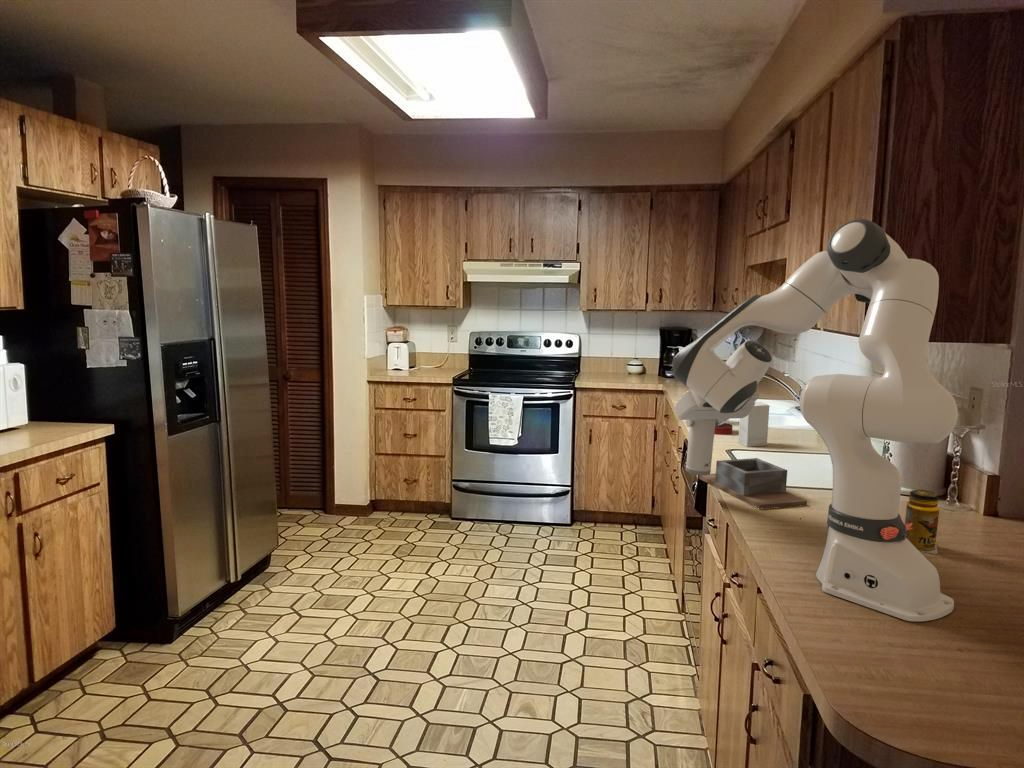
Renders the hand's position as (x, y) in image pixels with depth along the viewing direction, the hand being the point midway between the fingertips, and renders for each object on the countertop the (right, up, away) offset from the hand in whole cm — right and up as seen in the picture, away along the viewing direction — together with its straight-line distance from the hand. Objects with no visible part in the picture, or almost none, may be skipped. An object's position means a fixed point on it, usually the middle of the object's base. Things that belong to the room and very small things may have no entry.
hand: (701, 424), depth 175 cm
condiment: (+38, -25, -28) cm, 54 cm away
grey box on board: (+16, -19, +9) cm, 26 cm away
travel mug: (0, -13, +2) cm, 13 cm away
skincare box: (+36, -11, +64) cm, 74 cm away
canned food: (+30, -8, +84) cm, 90 cm away
